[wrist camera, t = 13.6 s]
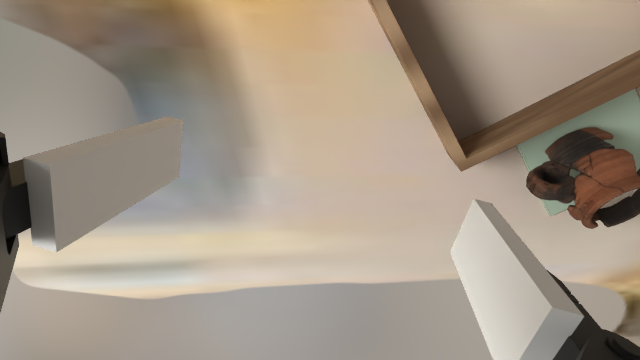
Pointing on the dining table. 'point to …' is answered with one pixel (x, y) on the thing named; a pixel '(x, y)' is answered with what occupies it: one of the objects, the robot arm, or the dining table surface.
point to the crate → (520, 125)
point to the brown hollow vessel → (588, 177)
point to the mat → (613, 116)
